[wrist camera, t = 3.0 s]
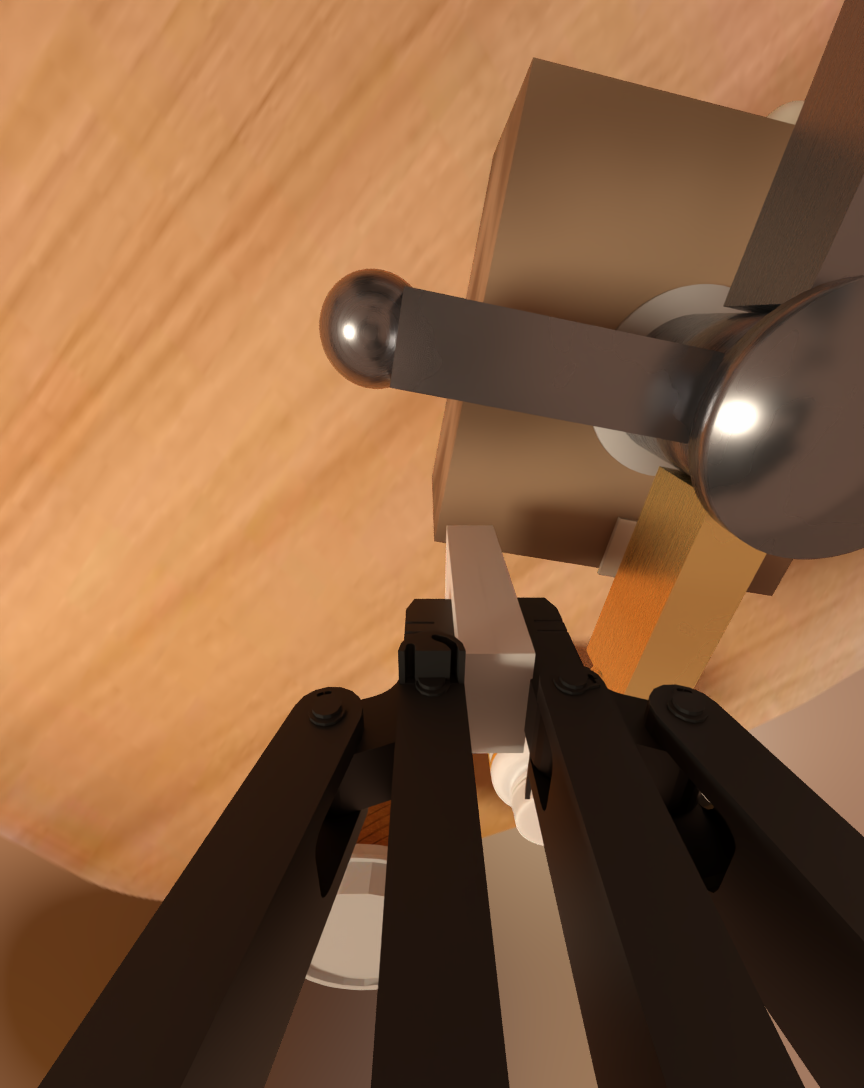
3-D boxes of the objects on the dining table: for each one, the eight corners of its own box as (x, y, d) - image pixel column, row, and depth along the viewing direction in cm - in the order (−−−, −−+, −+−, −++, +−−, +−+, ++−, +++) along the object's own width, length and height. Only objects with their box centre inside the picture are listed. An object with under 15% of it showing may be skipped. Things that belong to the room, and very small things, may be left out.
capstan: (399, -259, 10) (357, -1202, 4) (1279, 15, 12) (2199, -314, 6) (316, 618, 19) (264, 759, 13) (816, 690, 21) (976, 843, 15)
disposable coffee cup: (395, 670, 31) (378, 860, 20) (473, 755, 34) (495, 957, 23) (285, 732, 33) (217, 933, 22) (369, 806, 37) (345, 1012, 26)
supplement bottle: (561, 700, 32) (615, 854, 23) (479, 708, 32) (500, 863, 23) (561, 633, 30) (623, 774, 21) (473, 641, 30) (494, 785, 21)
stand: (502, 108, 19) (552, -32, 11) (827, 188, 20) (1066, 110, 13) (431, 481, 25) (433, 549, 18) (679, 524, 27) (778, 604, 19)
